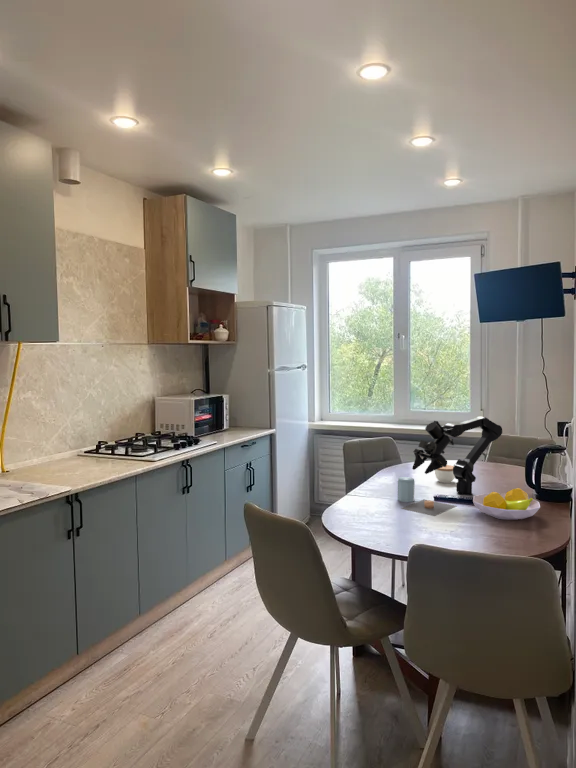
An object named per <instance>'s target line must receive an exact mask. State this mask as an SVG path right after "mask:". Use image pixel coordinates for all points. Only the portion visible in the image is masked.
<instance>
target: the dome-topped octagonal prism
mask: <svg viewBox="0 0 576 768" xmlns="http://www.w3.org/2000/svg"><path fill="white" fill-rule="evenodd" d="M397 479H398V480H397V501H398V502H401V503H403V502H404V503H412V502H414V500H415V482H416V481H415V478H413V477H408V476H400V477H398V478H397Z"/></svg>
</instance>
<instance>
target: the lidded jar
mask: <svg viewBox="0 0 576 768" xmlns="http://www.w3.org/2000/svg"><path fill="white" fill-rule="evenodd" d="M453 467H454V465H451V464H447V465H446V466H445V467H442V468H439V469H436V470H434V475H435V478H436V479H437V481H438V482H439V483H442V484H451V483H452V482H453V480H455V476H454V474H453Z"/></svg>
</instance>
